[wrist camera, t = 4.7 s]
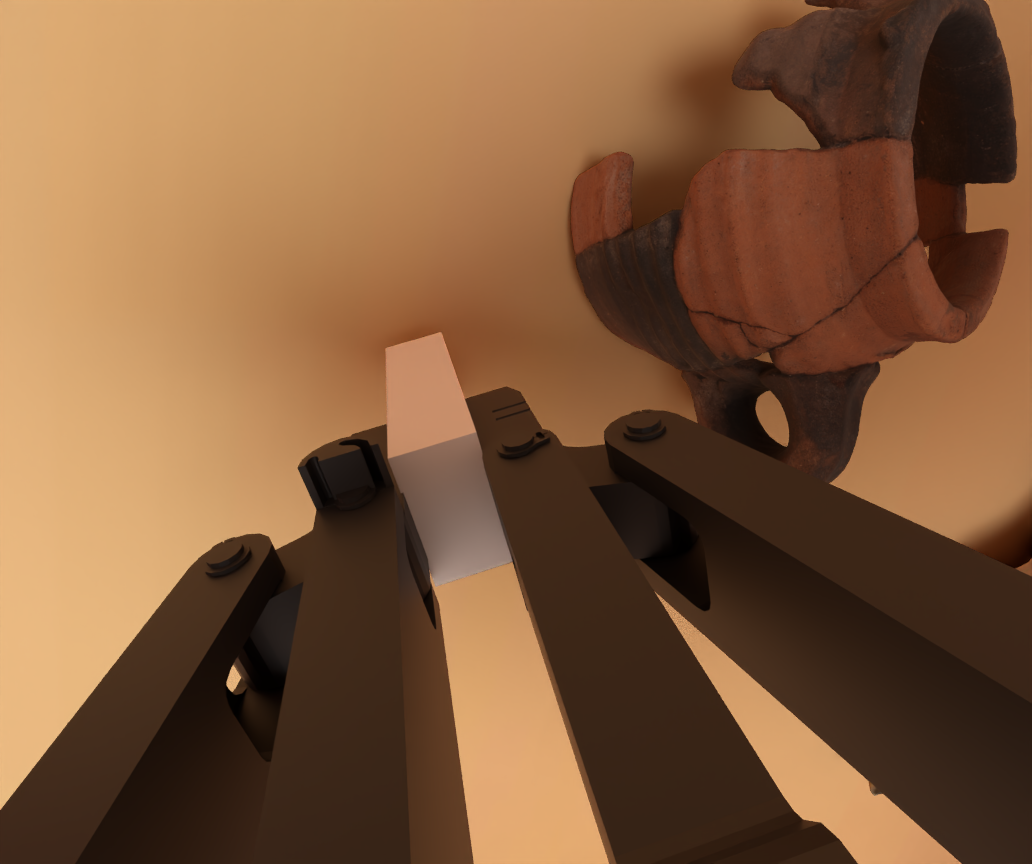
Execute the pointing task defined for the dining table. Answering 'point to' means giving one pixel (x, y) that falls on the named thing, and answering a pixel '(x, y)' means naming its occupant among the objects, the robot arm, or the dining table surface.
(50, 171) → the dining table surface
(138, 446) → the dining table surface
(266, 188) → the dining table surface
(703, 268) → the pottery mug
